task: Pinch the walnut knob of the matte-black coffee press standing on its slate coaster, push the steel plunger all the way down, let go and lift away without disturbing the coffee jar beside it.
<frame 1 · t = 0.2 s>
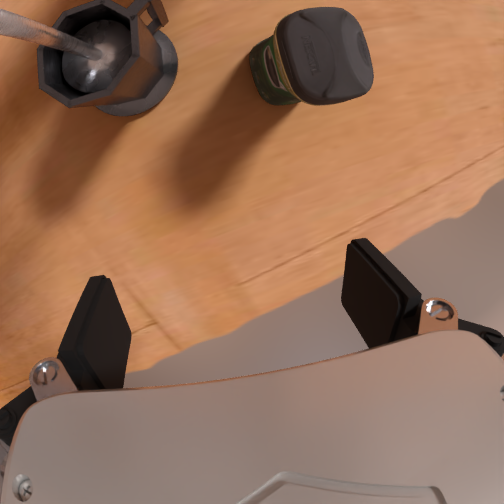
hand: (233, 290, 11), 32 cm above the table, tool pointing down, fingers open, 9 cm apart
coffee jar: (279, 71, 35), on the table
plunger: (42, 34, 10), point 24 cm above the table, slide at 12.0 cm
press carafe: (129, 69, 31), on the table
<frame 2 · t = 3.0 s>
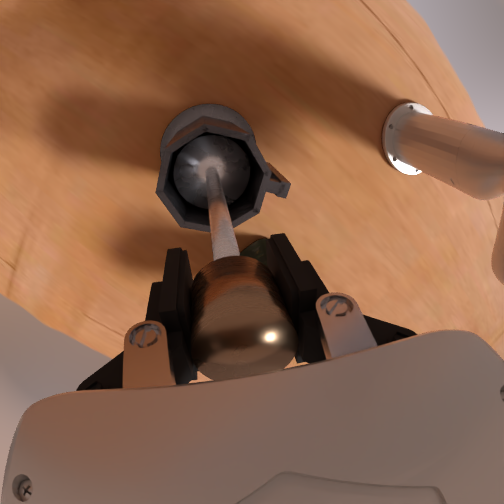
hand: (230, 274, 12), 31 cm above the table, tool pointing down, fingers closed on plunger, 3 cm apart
coffee jar: (257, 262, 49), on the table
plunger: (218, 213, 18), point 24 cm above the table, slide at 12.0 cm, touching gripper
press carafe: (208, 149, 39), on the table
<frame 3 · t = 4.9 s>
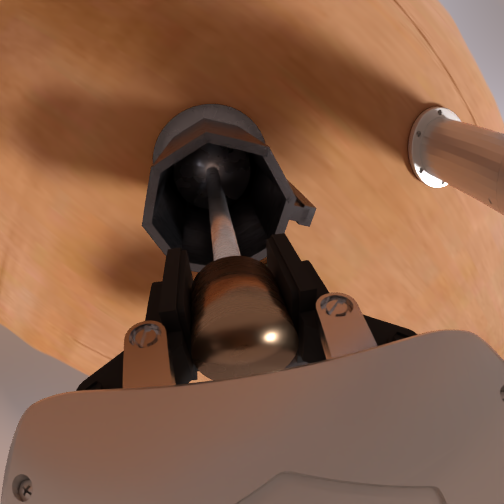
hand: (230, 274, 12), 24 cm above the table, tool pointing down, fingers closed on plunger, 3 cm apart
plunger: (219, 213, 18), point 17 cm above the table, slide at 5.0 cm, touching gripper
press carafe: (209, 159, 33), on the table
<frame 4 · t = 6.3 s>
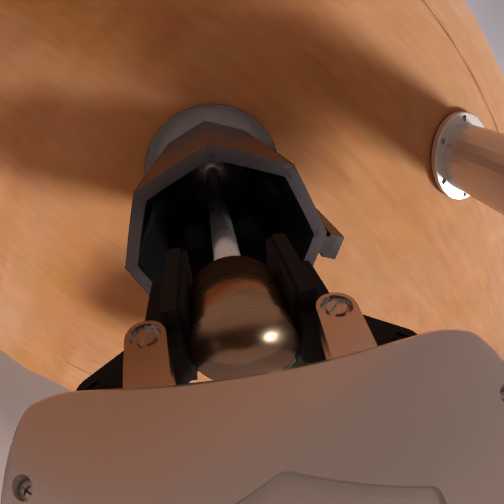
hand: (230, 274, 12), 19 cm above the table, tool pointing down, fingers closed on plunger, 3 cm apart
plunger: (219, 213, 18), point 12 cm above the table, slide at -0.1 cm, touching gripper
press carafe: (211, 168, 29), on the table
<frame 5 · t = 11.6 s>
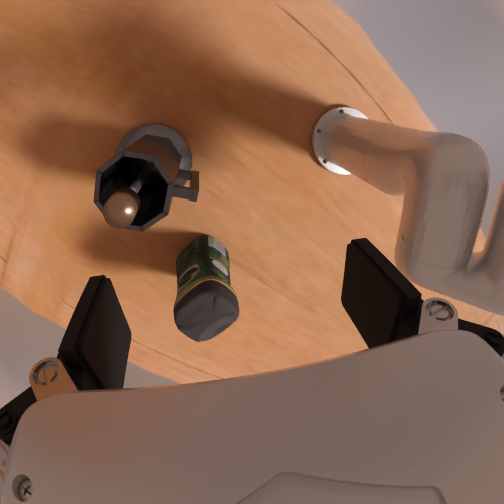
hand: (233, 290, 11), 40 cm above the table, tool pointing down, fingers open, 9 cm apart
coffee jar: (202, 256, 56), on the table
plunger: (139, 181, 35), point 12 cm above the table, slide at -0.1 cm
press carafe: (153, 162, 46), on the table
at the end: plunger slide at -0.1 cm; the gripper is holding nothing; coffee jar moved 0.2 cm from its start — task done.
